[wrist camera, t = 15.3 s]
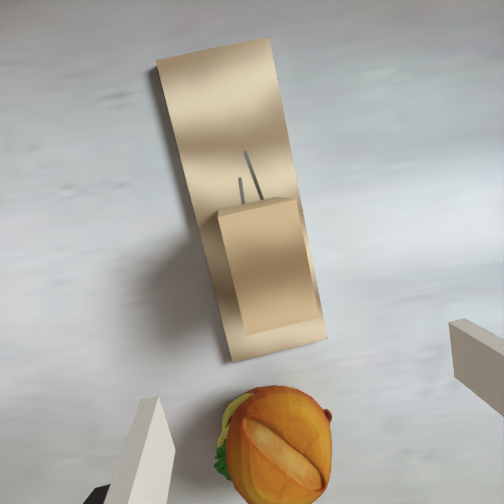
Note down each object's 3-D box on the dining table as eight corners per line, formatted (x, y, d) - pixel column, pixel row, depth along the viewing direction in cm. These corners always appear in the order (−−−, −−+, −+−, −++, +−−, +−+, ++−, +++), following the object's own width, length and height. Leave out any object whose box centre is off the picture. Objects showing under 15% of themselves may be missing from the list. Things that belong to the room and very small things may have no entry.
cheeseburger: (210, 472, 35) (208, 551, 25) (221, 363, 35) (223, 396, 26) (310, 477, 36) (345, 554, 26) (318, 370, 36) (356, 405, 27)
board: (158, 64, 28) (155, 60, 27) (267, 42, 28) (268, 36, 27) (232, 357, 33) (232, 362, 32) (324, 334, 33) (327, 339, 32)
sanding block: (218, 209, 29) (217, 217, 21) (276, 196, 30) (296, 198, 22) (239, 298, 31) (246, 335, 23) (294, 285, 31) (319, 317, 23)
